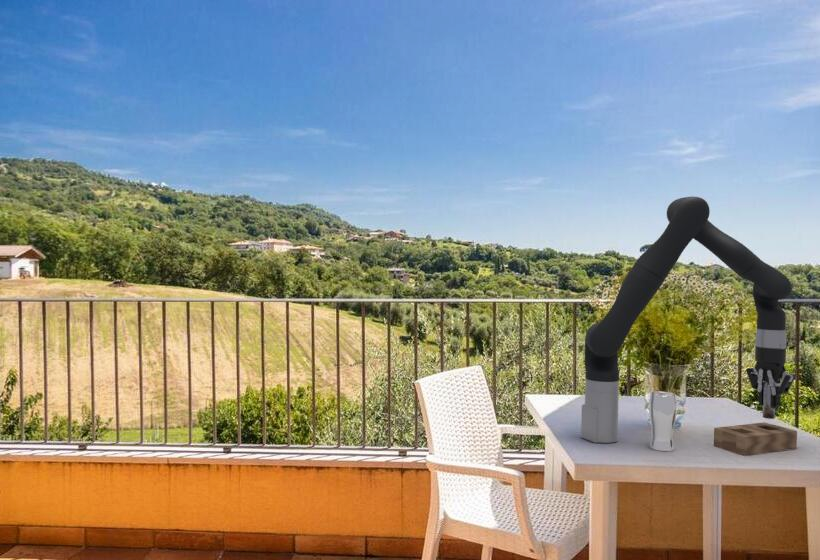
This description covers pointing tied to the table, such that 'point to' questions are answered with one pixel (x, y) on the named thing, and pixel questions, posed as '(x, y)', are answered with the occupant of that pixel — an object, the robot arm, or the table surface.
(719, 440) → the hole block
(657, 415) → the beer glass
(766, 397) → the peg
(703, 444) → the table surface
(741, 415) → the table surface
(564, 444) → the table surface
